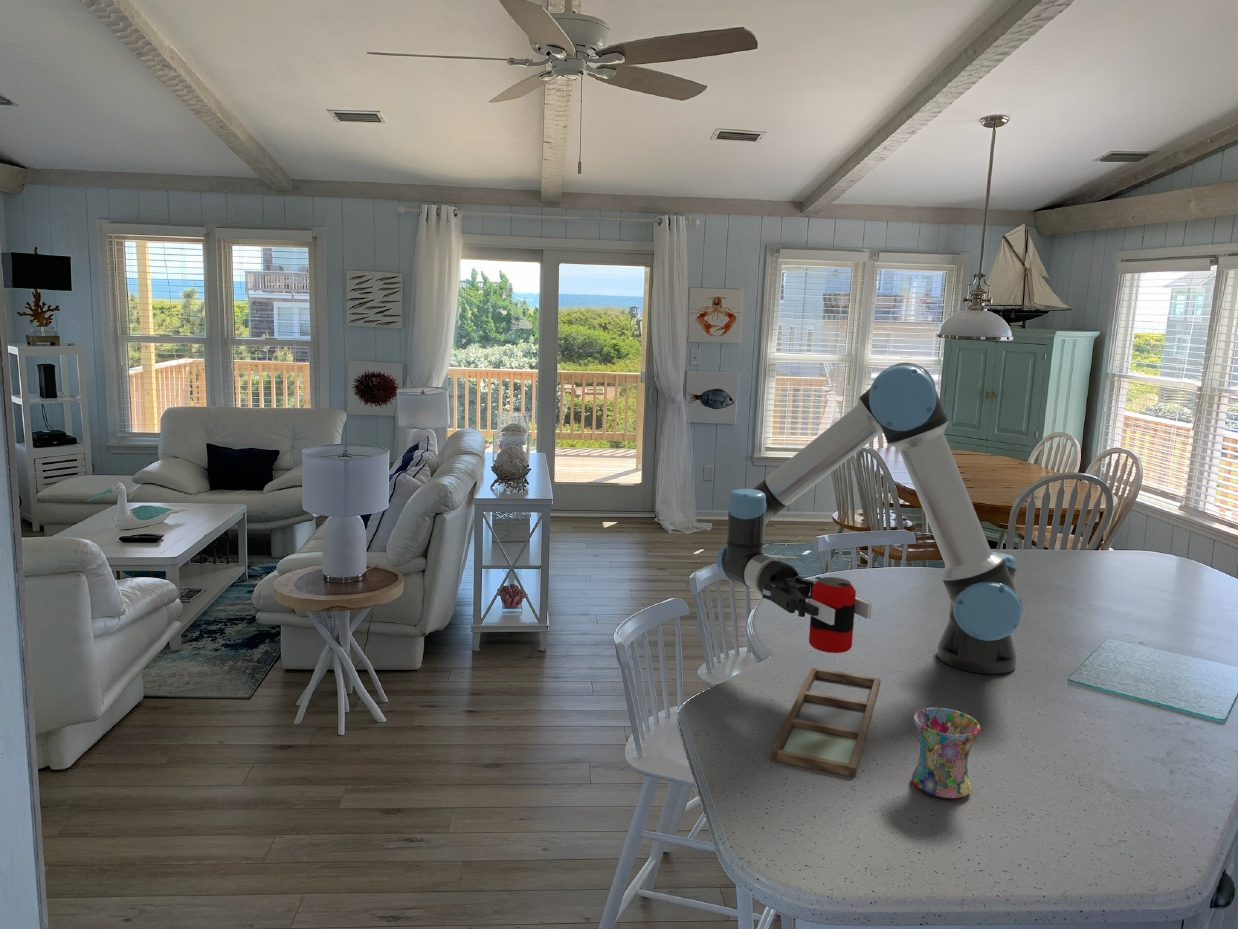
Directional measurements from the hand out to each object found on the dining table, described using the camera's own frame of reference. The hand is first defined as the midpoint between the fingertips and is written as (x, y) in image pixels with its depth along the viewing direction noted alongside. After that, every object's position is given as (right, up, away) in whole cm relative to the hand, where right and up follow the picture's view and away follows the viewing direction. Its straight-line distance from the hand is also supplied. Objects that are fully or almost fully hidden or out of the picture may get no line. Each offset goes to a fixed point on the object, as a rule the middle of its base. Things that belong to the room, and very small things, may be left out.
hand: (851, 614), depth 153 cm
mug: (+7, -23, -23) cm, 33 cm away
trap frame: (-4, -18, 0) cm, 19 cm away
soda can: (-2, -7, +6) cm, 9 cm away
